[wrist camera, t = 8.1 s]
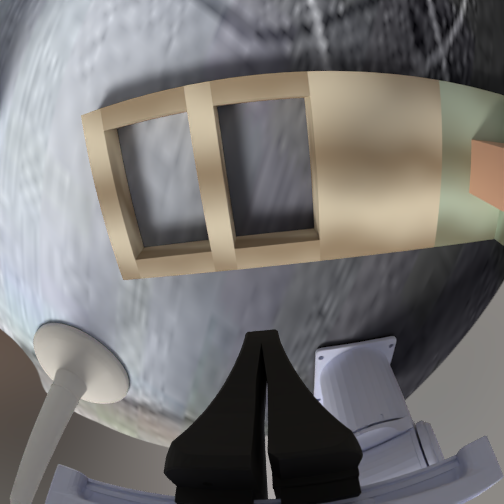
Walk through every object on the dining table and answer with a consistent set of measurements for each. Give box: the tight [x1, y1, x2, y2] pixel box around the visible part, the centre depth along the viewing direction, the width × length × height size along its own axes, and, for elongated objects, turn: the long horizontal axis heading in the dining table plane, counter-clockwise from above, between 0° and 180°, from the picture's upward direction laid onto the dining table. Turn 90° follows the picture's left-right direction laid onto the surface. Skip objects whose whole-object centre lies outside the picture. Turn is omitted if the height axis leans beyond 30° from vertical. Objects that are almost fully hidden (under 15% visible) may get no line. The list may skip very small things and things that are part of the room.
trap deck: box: [81, 71, 504, 280], centre depth 16 cm, size 12×31×5 cm, turn 97°
